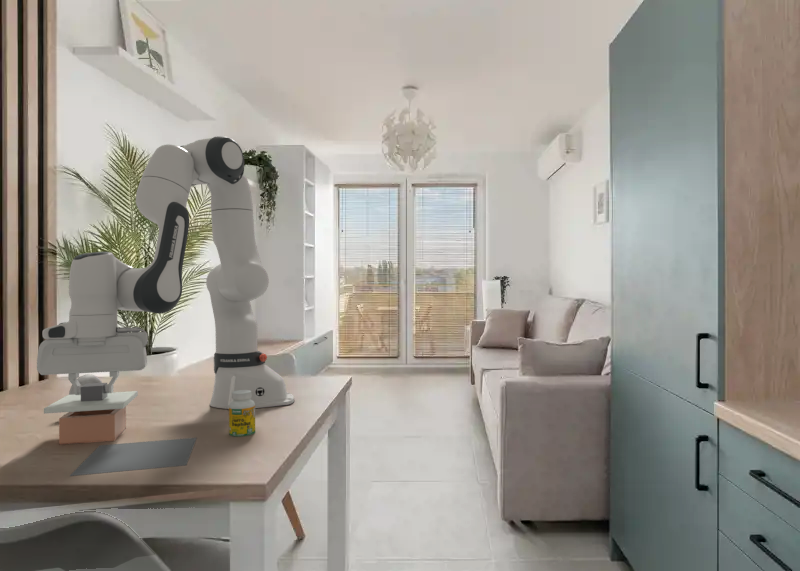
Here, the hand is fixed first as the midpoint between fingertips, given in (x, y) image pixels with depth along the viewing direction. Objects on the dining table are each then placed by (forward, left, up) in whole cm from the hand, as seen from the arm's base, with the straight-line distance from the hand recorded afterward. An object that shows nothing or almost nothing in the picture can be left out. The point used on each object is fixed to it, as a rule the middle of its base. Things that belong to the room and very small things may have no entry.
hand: (94, 393), depth 112 cm
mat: (-12, +17, -10) cm, 23 cm away
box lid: (0, 0, -2) cm, 2 cm away
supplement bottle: (-30, +7, -10) cm, 32 cm away
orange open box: (0, 0, -10) cm, 10 cm away
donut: (+9, -28, -10) cm, 31 cm away
